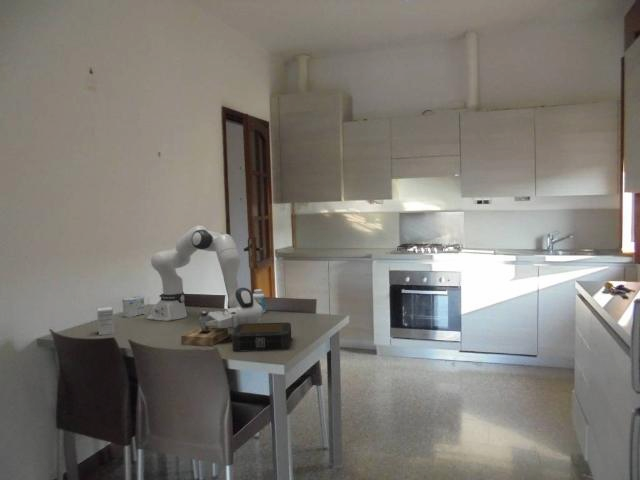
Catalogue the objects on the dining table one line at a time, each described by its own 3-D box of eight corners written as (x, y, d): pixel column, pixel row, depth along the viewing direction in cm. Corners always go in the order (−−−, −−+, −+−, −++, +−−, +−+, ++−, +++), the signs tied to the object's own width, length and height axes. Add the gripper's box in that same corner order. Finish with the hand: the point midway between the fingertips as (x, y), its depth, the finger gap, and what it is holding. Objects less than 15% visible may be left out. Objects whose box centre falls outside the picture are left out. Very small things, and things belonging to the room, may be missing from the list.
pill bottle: (260, 310, 292) (259, 288, 291) (268, 312, 287) (267, 289, 286) (250, 312, 287) (249, 290, 286) (257, 314, 282) (256, 291, 281)
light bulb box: (138, 313, 296) (137, 295, 295) (145, 314, 292) (144, 296, 291) (122, 316, 287) (121, 298, 286) (129, 318, 283) (128, 299, 282)
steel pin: (199, 341, 231) (197, 312, 230) (203, 338, 235) (202, 310, 234) (207, 341, 230) (205, 312, 229) (211, 339, 234) (210, 310, 233)
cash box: (231, 352, 213) (230, 335, 213) (239, 339, 233) (238, 323, 233) (289, 350, 213) (288, 333, 213) (291, 337, 233) (290, 321, 233)
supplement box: (98, 332, 254) (97, 308, 253) (114, 330, 257) (112, 306, 256) (98, 335, 248) (96, 310, 247) (114, 333, 250) (112, 309, 249)
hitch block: (181, 344, 227) (180, 335, 227) (199, 335, 242) (198, 327, 242) (212, 346, 223) (212, 337, 222) (228, 336, 238) (228, 328, 238)
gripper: (223, 307, 247) (196, 311, 240) (237, 314, 229) (208, 319, 222) (224, 319, 247) (197, 323, 241) (238, 328, 229) (209, 332, 223)
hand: (202, 321), depth 231 cm, fingers open, 8 cm apart
